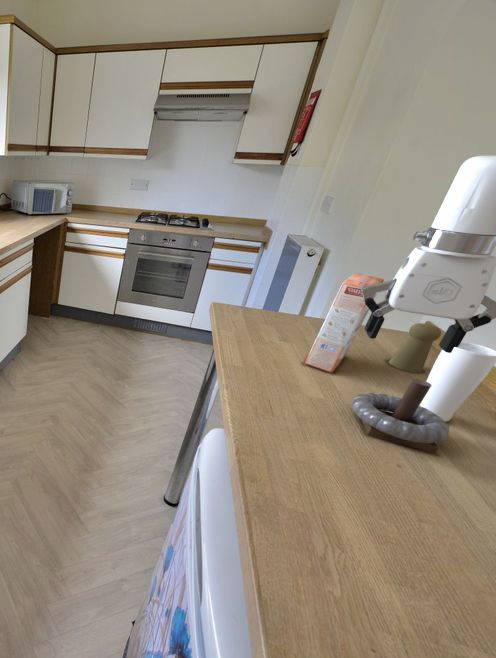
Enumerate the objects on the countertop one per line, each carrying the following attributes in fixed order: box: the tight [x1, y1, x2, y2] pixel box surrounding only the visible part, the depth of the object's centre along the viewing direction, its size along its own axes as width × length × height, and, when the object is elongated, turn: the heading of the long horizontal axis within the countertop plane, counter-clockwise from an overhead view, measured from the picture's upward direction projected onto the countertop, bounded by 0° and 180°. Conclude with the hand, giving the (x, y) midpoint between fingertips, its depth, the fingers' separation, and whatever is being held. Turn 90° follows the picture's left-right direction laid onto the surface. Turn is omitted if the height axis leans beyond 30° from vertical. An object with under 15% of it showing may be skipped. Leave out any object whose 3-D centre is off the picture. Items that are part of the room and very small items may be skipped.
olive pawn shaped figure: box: [388, 322, 442, 374], centre depth 98 cm, size 6×6×11 cm
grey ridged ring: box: [350, 392, 450, 444], centre depth 75 cm, size 13×13×3 cm
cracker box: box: [304, 272, 385, 374], centre depth 96 cm, size 14×6×21 cm, turn 131°
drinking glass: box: [420, 340, 496, 423], centre depth 78 cm, size 7×7×15 cm
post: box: [361, 378, 439, 454], centre depth 74 cm, size 9×9×10 cm
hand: (406, 342), depth 71 cm, fingers open, 9 cm apart
